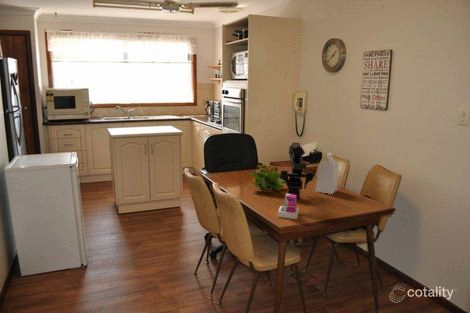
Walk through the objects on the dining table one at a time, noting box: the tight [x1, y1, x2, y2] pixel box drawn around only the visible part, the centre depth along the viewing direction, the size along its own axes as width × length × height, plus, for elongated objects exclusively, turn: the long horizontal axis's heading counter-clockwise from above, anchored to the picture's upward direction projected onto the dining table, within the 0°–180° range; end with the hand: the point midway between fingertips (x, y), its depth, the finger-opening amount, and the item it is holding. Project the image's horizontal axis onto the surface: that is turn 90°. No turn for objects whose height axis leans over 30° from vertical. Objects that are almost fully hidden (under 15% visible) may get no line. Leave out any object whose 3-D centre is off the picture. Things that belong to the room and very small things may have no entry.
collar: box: [277, 205, 300, 220], centre depth 202 cm, size 10×10×3 cm
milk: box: [314, 152, 339, 195], centre depth 248 cm, size 12×12×26 cm
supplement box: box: [283, 193, 297, 213], centre depth 200 cm, size 6×6×12 cm
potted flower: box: [249, 163, 286, 193], centre depth 245 cm, size 25×24×18 cm
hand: (296, 188), depth 209 cm, fingers open, 9 cm apart
